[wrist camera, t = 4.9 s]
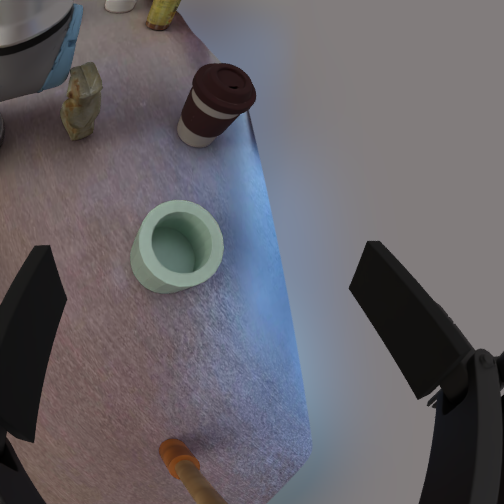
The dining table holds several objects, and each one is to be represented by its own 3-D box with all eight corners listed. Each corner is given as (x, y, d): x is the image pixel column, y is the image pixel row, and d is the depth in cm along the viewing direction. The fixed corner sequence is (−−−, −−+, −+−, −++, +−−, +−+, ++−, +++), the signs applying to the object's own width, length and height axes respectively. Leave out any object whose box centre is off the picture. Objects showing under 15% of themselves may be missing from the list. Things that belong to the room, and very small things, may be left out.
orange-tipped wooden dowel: (168, 466, 32) (231, 554, 13) (153, 446, 32) (209, 537, 13) (191, 454, 34) (268, 533, 16) (178, 434, 34) (250, 513, 16)
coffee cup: (177, 105, 46) (208, 48, 34) (224, 123, 51) (264, 73, 38) (162, 144, 43) (192, 84, 31) (214, 162, 48) (258, 112, 35)
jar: (145, 304, 37) (159, 300, 29) (120, 237, 37) (126, 213, 29) (206, 279, 43) (236, 268, 34) (182, 217, 43) (205, 191, 34)
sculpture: (86, 100, 36) (105, 53, 24) (97, 136, 38) (117, 100, 27) (55, 111, 32) (61, 65, 21) (65, 149, 35) (72, 115, 23)
